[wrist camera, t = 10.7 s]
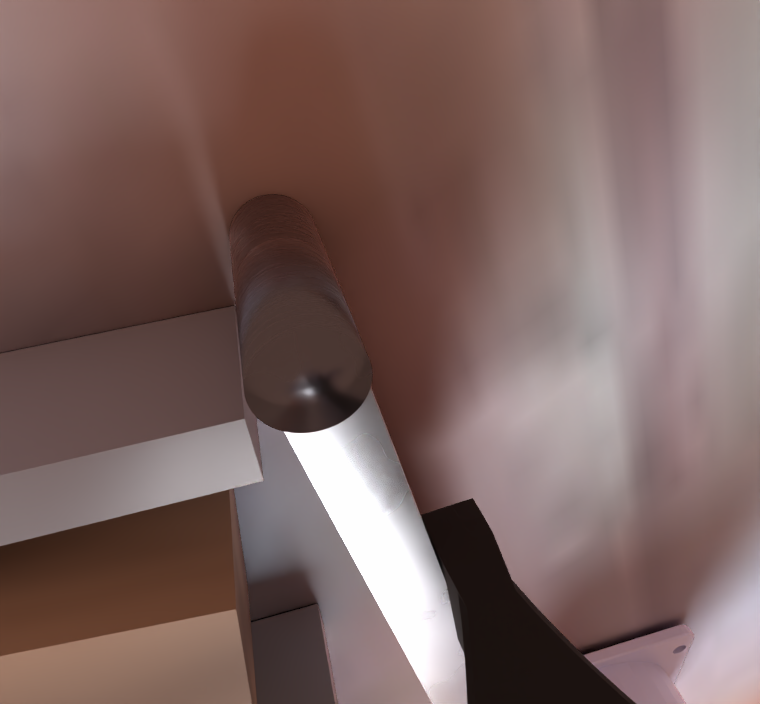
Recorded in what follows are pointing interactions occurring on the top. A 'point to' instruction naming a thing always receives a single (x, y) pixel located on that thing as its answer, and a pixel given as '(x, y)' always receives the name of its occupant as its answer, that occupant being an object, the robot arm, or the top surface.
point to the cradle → (145, 454)
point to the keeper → (338, 426)
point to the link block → (130, 610)
